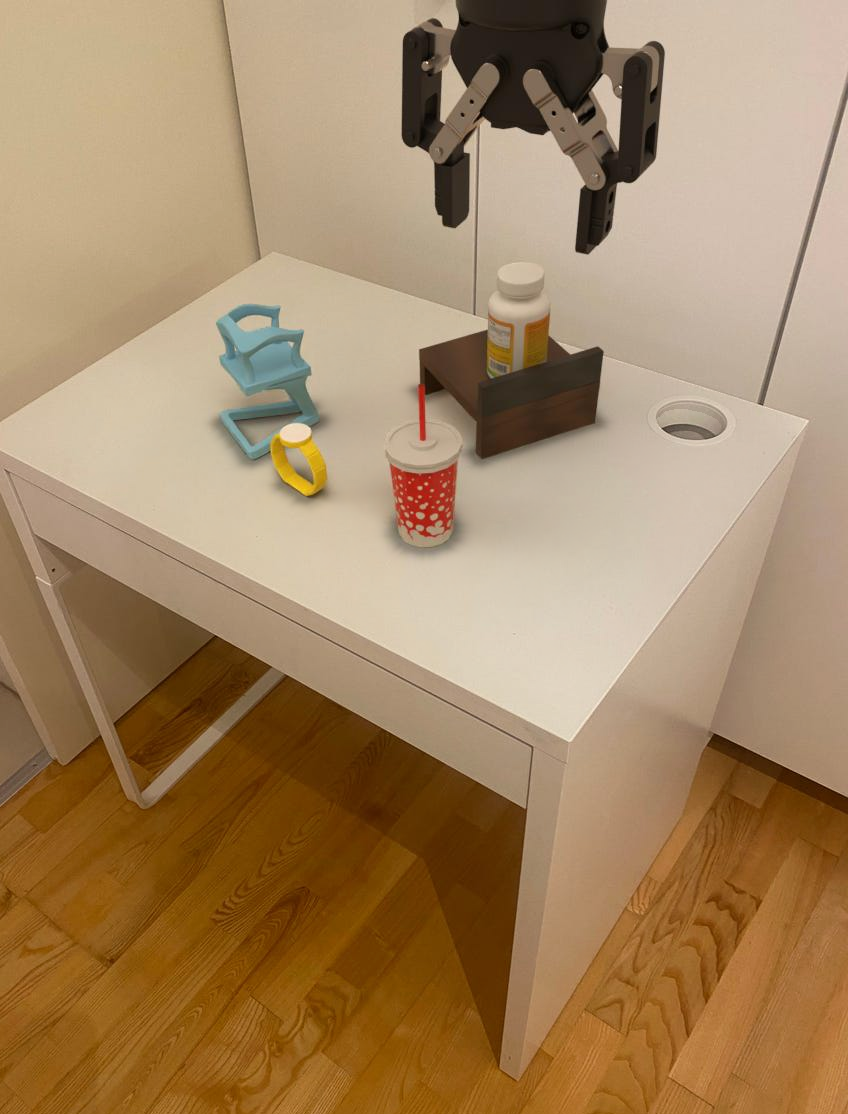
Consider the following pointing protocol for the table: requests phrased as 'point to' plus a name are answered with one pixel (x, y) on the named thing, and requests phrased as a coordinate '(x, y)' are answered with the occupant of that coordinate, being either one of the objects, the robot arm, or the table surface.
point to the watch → (302, 439)
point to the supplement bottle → (517, 320)
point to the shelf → (515, 391)
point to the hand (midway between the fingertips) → (519, 235)
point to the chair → (264, 371)
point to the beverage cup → (424, 477)
